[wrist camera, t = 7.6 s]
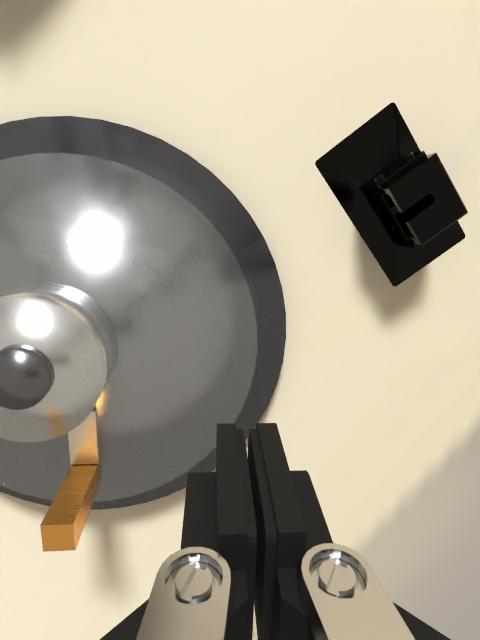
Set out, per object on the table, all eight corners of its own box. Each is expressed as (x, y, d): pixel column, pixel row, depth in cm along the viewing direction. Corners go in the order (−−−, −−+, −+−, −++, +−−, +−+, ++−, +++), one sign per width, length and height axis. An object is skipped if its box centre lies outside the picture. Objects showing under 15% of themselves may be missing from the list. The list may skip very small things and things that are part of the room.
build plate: (288, 149, 24) (307, 136, 20) (391, 70, 23) (435, 38, 19) (391, 312, 27) (428, 332, 23) (485, 246, 27) (541, 254, 22)
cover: (117, 284, 22) (93, 304, 17) (120, 404, 24) (100, 451, 19) (-22, 280, 21) (-85, 299, 17) (-7, 403, 23) (-60, 452, 18)
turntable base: (294, 131, 23) (298, 127, 22) (273, 493, 29) (276, 502, 28) (-165, 108, 21) (-182, 103, 20) (-84, 505, 27) (-95, 516, 26)
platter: (261, 165, 22) (285, 147, 16) (248, 482, 27) (261, 562, 21) (-134, 147, 21) (-282, 119, 14) (-71, 491, 26) (-159, 581, 19)
